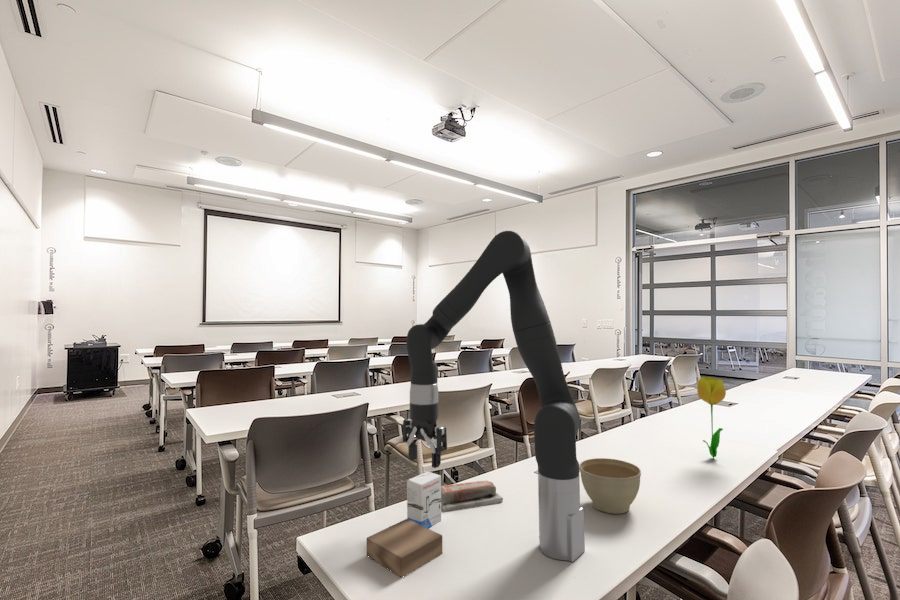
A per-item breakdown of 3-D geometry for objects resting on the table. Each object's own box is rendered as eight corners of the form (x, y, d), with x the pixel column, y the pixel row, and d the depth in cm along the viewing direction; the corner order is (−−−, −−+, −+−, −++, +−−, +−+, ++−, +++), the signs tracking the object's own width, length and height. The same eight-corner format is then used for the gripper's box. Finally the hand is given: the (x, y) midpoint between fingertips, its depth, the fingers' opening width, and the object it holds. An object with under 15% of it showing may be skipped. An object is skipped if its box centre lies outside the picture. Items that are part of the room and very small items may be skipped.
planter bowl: (612, 491, 128) (611, 454, 128) (655, 514, 113) (654, 472, 113) (568, 500, 122) (567, 462, 122) (607, 525, 107) (606, 481, 107)
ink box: (421, 533, 104) (420, 484, 104) (406, 527, 107) (405, 480, 107) (442, 520, 111) (442, 474, 111) (428, 514, 114) (427, 470, 114)
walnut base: (442, 553, 95) (442, 535, 95) (401, 578, 86) (401, 558, 86) (406, 535, 103) (406, 518, 103) (366, 556, 94) (366, 537, 94)
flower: (705, 461, 152) (702, 378, 154) (696, 454, 160) (693, 375, 162) (731, 463, 151) (728, 378, 152) (721, 455, 159) (718, 375, 160)
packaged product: (443, 495, 116) (433, 482, 125) (444, 513, 115) (433, 499, 125) (503, 486, 121) (489, 474, 131) (503, 503, 121) (489, 490, 130)
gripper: (453, 401, 108) (453, 466, 107) (416, 395, 118) (416, 453, 117) (433, 406, 103) (433, 474, 102) (395, 398, 112) (395, 460, 112)
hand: (424, 463), depth 110 cm, fingers open, 8 cm apart
